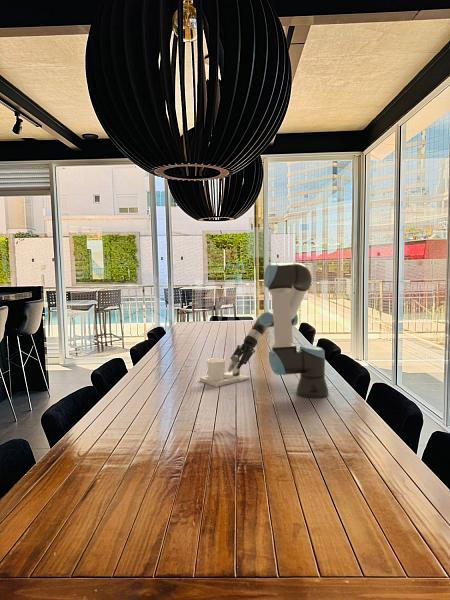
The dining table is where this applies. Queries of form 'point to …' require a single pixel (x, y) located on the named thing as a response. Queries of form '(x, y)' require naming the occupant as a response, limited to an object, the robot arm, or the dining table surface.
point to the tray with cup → (227, 375)
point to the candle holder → (216, 369)
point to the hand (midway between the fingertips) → (230, 372)
